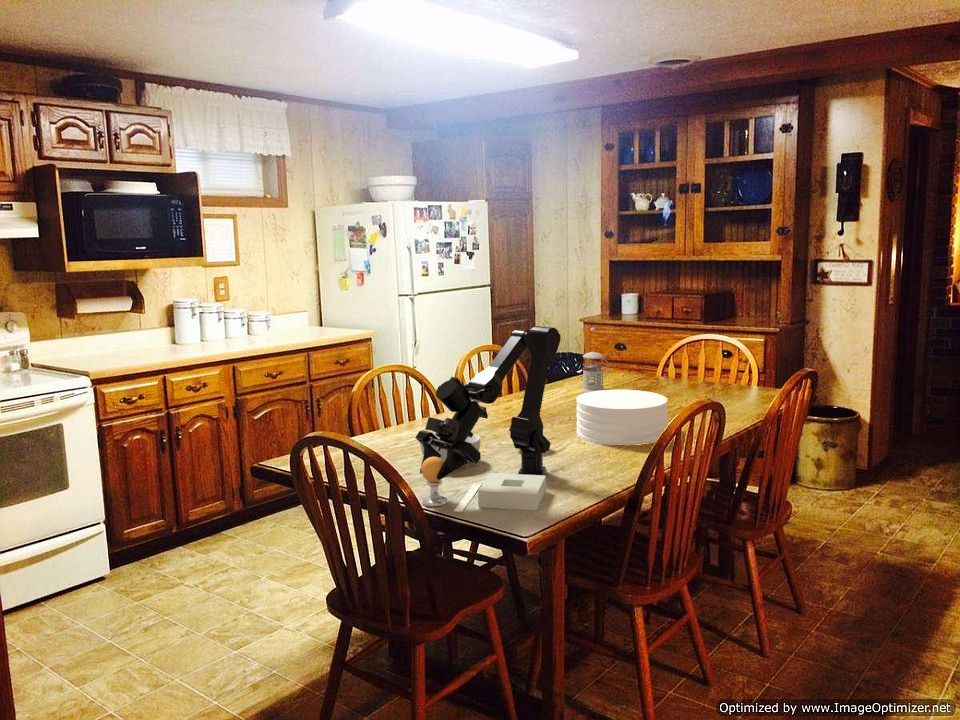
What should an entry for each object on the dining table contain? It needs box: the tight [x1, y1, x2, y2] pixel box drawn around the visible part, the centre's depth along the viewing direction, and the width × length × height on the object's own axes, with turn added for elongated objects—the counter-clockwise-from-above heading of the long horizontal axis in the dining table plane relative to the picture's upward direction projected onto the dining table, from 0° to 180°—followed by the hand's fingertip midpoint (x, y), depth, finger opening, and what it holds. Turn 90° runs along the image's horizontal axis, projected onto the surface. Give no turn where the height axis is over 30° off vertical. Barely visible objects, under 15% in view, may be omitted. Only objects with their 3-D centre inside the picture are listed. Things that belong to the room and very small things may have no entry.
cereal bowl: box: [419, 433, 481, 462], centre depth 226 cm, size 17×17×7 cm
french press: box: [580, 327, 610, 393], centre depth 317 cm, size 10×12×25 cm
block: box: [477, 472, 547, 511], centre depth 195 cm, size 14×14×4 cm
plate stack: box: [576, 389, 669, 446], centre depth 252 cm, size 28×28×12 cm
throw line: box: [453, 483, 482, 513], centre depth 197 cm, size 20×2×1 cm, turn 167°
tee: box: [421, 479, 448, 508], centre depth 193 cm, size 6×6×6 cm
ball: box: [420, 457, 444, 482], centre depth 192 cm, size 6×6×6 cm
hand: (429, 476), depth 192 cm, fingers closed on ball, 6 cm apart
